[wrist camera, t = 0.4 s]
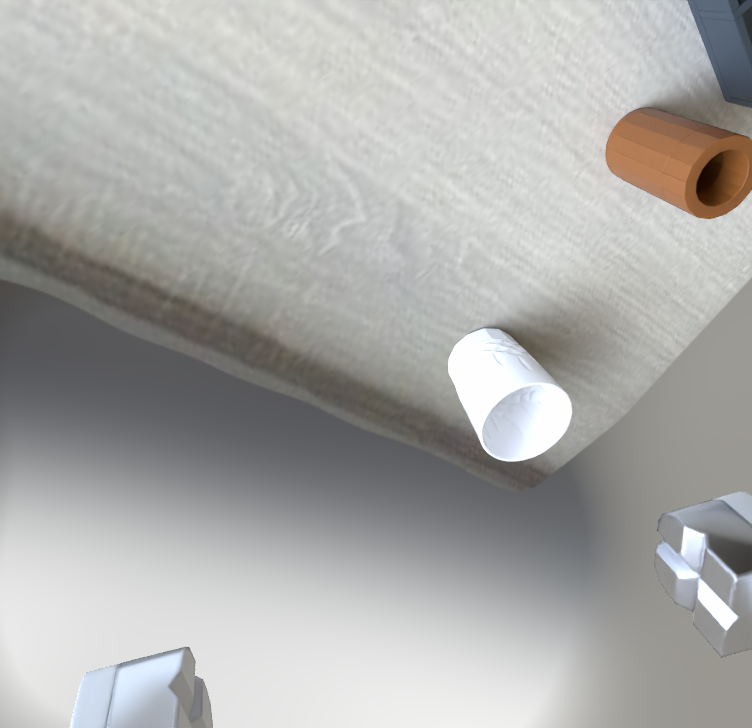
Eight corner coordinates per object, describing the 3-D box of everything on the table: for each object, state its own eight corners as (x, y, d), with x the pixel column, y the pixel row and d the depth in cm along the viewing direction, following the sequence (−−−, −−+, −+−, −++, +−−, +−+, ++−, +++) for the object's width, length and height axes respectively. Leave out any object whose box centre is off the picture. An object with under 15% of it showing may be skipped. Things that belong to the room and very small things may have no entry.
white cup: (531, 323, 56) (586, 383, 48) (508, 393, 60) (555, 460, 52) (451, 319, 54) (494, 382, 45) (433, 393, 58) (469, 462, 49)
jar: (605, 117, 47) (688, 148, 39) (671, 99, 47) (767, 125, 39) (604, 186, 50) (681, 228, 42) (666, 168, 50) (754, 206, 42)
